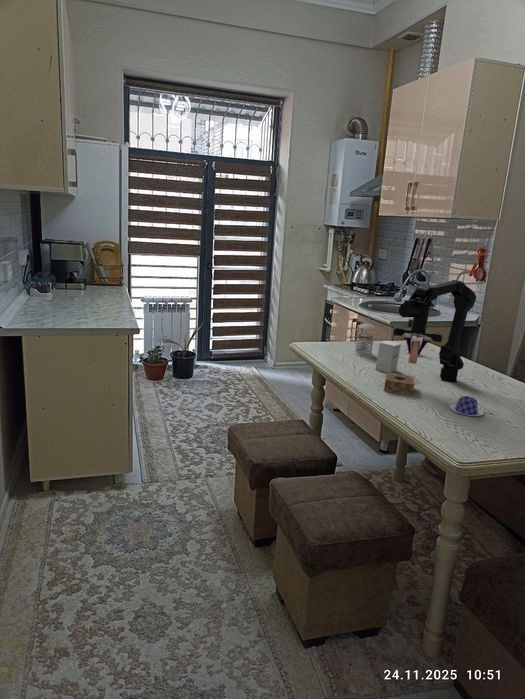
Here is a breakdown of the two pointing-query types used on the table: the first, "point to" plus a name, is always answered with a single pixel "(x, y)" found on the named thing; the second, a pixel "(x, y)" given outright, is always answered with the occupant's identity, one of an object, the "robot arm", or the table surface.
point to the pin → (414, 352)
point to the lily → (411, 342)
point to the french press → (369, 340)
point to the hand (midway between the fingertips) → (413, 354)
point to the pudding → (467, 406)
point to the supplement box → (388, 356)
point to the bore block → (399, 383)
